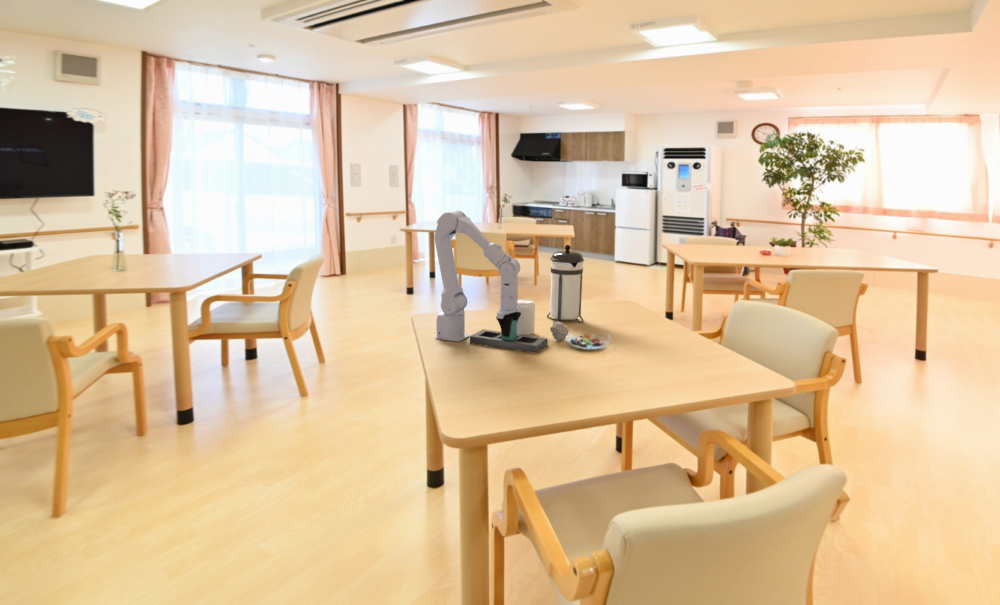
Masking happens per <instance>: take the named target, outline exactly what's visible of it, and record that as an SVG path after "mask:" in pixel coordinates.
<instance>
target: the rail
mask: <svg viewBox="0 0 1000 605" xmlns="http://www.w3.org/2000/svg"><path fill="white" fill-rule="evenodd" d="M472 343H474V344H473V345H478V344H481V345H480V346H485V345H487V346H486V347H491V346H492V348H499V349H507V350H512V351H520V352H524V353H531V354H537V353H539V352H540V351H542V350H543V349H544V348H545V347H547V346H548V338H547V337H543V336H542V337H541V336H540V337H539V336H532V335H520V334H517V338H516V339H515V340H513V341H512V340H505V339H501V331H498V330H493V329H492V330H490V329H484V328H483V329H481V330H479V331H476V333H473V334H471V335H469V344H472Z"/></svg>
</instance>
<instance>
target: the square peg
mask: <svg viewBox="0 0 1000 605" xmlns="http://www.w3.org/2000/svg"><path fill="white" fill-rule="evenodd" d="M500 332H501V339H505V340H512V341H513V340H515V339H516V338H517V320H512V323H511V327H510V334H509V337H505V336H503V335H502V331H501V330H500Z"/></svg>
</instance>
